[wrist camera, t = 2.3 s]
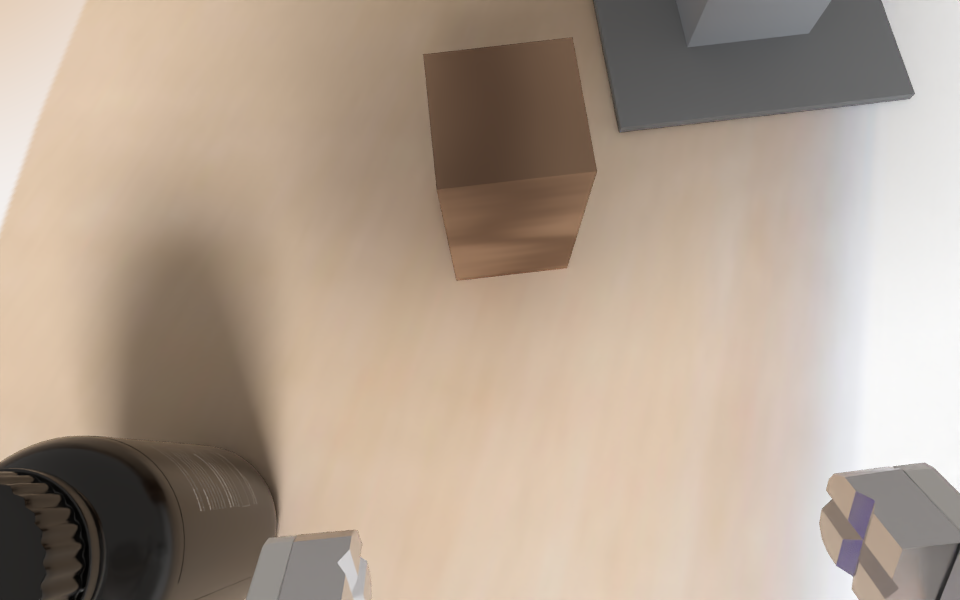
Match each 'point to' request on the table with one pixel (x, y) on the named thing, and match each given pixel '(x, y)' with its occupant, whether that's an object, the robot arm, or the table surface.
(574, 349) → the table surface
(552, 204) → the walnut post
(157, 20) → the table surface
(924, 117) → the table surface
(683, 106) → the rubber mat
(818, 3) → the tower bottom
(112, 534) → the supplement bottle
